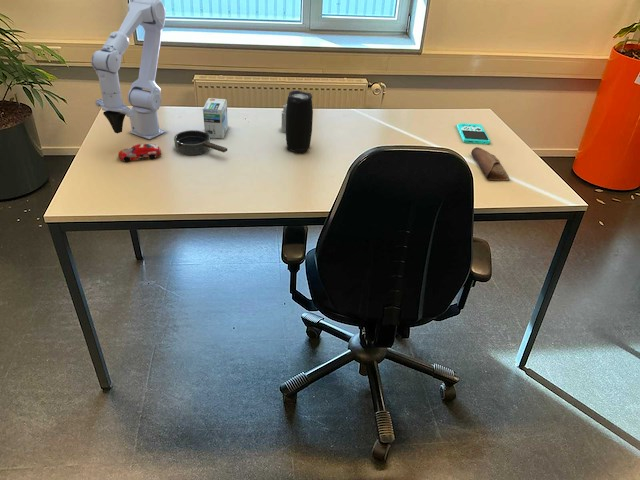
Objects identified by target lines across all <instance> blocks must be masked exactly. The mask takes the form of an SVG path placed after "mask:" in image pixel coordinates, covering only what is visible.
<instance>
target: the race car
mask: <svg viewBox="0 0 640 480" xmlns="http://www.w3.org/2000/svg"><path fill="white" fill-rule="evenodd" d="M161 155H162V150H161V148H160V146H159V145H158V144H152V143H138V144H135V145H132V147H128V148H123V149H121V150H120V151H119V152H118V155H117V157H118V159H119V160H120V161H124V162H125V163H129V162H130V161H139V160H149V159H150V160H154V159H155V158H159V157H161Z"/></svg>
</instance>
